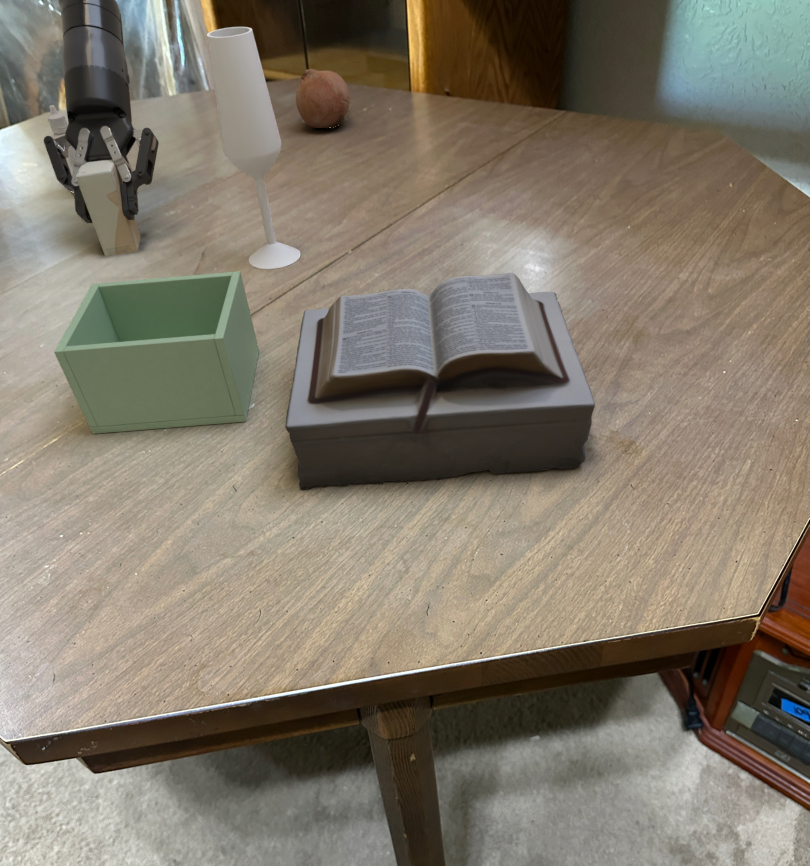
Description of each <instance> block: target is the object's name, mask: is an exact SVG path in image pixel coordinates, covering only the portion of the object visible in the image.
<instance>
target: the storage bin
mask: <svg viewBox="0 0 810 866" xmlns="http://www.w3.org/2000/svg"><path fill="white" fill-rule="evenodd" d="M249 306H250V305H249V301H248V297H247V294H246V288H245V285H244V280H243V276H242V273H241V271H240V270H238V271H227V272H217V273H216V272H215V273H203V274H202V273H201V274H192V275H191V274H190V275H179V276H167V277H155V278H145V279H131V280H119V281H108V282H95V283H91V285H90V287H89V288H88V290H87V293H86V294H85V296H84V298H83V300H82V301H81V302H80V305H79V306H78V308H77V310H76V312H75V314H74V316H73V317H72V319H71V321H70V322H69V324H68V326H67V328H66V330H65V331H64V333H63V334H62V337H61V339H60V340H59V342H58V344H57V346H56V347H55V348H54V351H53V353H54V355H55V357H56V359H57V361H58V363H59V366H60V368H61V370H62V372H63V374H64V376H65V378H66V381H67V382H68V385H69V387H70V389H71V391H72V393H73V396H74V398H75V400H76V403H77V404H78V406H79V408H80V410H81V412H82V413H81V414H83V417H84V418H85V421H86V423H87V425H88V427H89V429H90V432H91V433H92V435H96V434H108V433H120V432H122V433H123V432H133V431H145V430H158V429H159V430H160V429H168V428H169V429H171V428H183V427H184V428H185V427H195V426H208V425H218V424H219V425H220V424H234V423H244V422H247V418H248V413H249V407H250V402H251V398H252V397H251V395H252V391H253V386H254V382H255V381H254V380H255V376H256V370H257V364H258V359H259V354H260V347H259V343H258V339H257V335H256V331H255V326H254V322H253V318H252V314H251V310H250V307H249Z"/></svg>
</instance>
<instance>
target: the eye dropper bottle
mask: <svg viewBox="0 0 810 866" xmlns="http://www.w3.org/2000/svg"><path fill="white" fill-rule="evenodd" d="M48 107H49V112H50V114H49V116H47V118H46V119H47V121H48V124H49V126H50V129H51V131H52V136H51V137H52V138H53V139H56V138H58V137H61V136H64V135H65V132H66V129H67V127H68V121H67V119H66V116H65V115H64V114H63V113H60V112H59V111H58V110H57V107H56V106H55V105H54V104H52V105H49V106H48ZM75 154H76V150H75V149H74V148H73V147H72V146H70V147H69V149H68V158H66V160H67V163H68V166H69V169H70V172H71V175H72V176H73V172H74V158H75ZM72 192H74V191H72Z"/></svg>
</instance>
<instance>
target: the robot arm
mask: <svg viewBox="0 0 810 866" xmlns="http://www.w3.org/2000/svg"><path fill="white" fill-rule="evenodd" d="M57 2H58V5H59V8H60V18H61V19H60V20H61V30H62V70H63V71H62V72H63V84H64V94H65V95H64V96H65V108H66V116H67V124H68V127H67V129H66V132H65V135H64V136H61V137H58V138H56V139H53V138H52V136H51V135H46V136H45V137H44V138H43V145H44V146H45V150H46V151H47V152H46V153H47V155H48V158H49V161H50V163H51V167H52V170H53V173H54V175H55V179H56V180H57V181H58V182H59V183H60V184H61V185H62V186H63V187H64V188H65V189H66V190H67V191H68V192H71V191H74V194H73V198H74V208H75V209H74V210H75V212H76V214H77V215H78V216H79V218H81V219H82V221H83V222H84V223H86V224H93V222H92V220H91V217H90V214H89V212H88V209H87V206H86V204H85V201H84V198H83V195H82V192H81V190H80V187H79V184H78V182H77V179H76V175H77V172H78V170H79V168H80V166H82V165H84V164H85V163H87V162H94V161H102V160H113V162H114V164H115V165H116V167H117V169H118V172H119V174H120V176H121V179H122V181H123V184H120V188H121V200H122V211H123V214H124V216H125V217H126V218H127V219H128V220H134V219H135V220H136V216H137V215H138V213H139V199H138V198H139V197H138V189H139V188H140V187H141V186H143V185H146V186H149V185H151V184H152V182H153V176H154V171H155V166H156V160H157V155H158V149H159V143H160V142H159V139H158V138H157V137H156V135H155V133H154V132H153V131H152V129H151V128H150V127H144V128H143V129H142V130H141V129H136V128H135V127H134V126H133V118H132V117H133V116H132V104H131V95H130V93H131V92H130V82H131V81H130V74H129V69H128V62H127V59H126V54H125V46H124V34H123V33H124V32H123V21H122V12H121V9H120V6H119V4H118V2H117V0H57ZM135 143H136V145H137V147H138V151H137V158H136V162H135V163H136V164H135V169H134V170H133V168H132V165H131V163H130V161H129V159H128V155H129V153H130V151H131V149H132V148H133V146H134V145H135ZM70 146H72V147H73V148H74V149H75V150H76V154H75V158H74V172H73V176H72V175H71V172H70V169H69V166H68V163H67V160H66V158H68V149H69V147H70Z"/></svg>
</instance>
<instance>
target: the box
mask: <svg viewBox="0 0 810 866" xmlns="http://www.w3.org/2000/svg"><path fill="white" fill-rule="evenodd" d="M76 179H77V182H78V184H79V187H80V190H81V192H82V195H83V198H84V201H85V204H86V206H87V209H88V212H89V214H90V217H91V220H92V222H93V223H92V225H93V227H94V229H95V233H96V235H97V239H98V241H99V243H100V246H101V249H102V252H103V255H104V256H105V257H108V256H116V255H123V254H124V255H125V254H131V253H136V252H138V251H139V247H140V243H141V238H142V236H141V233H140V230H139V227H138V224H137V221H136V218H135V219H134V220H128V219H127V218H126V217H125V216H124V214H123V211H122V200H121V188H120V184H123V180H122V179H121V176H120V174H119V172H118V169H117V167H116V165H115V164H114V162H113V160H102V161H94V162H87V163H85V164H84V165H82V166H80V168H79V170H78V172H77V175H76Z"/></svg>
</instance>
